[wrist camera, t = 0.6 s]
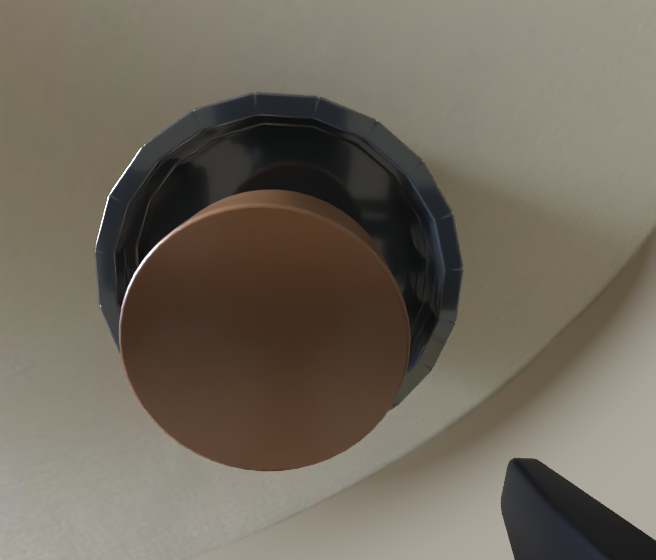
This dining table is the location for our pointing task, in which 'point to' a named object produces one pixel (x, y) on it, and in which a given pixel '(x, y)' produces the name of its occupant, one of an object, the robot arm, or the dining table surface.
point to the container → (298, 176)
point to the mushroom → (265, 332)
